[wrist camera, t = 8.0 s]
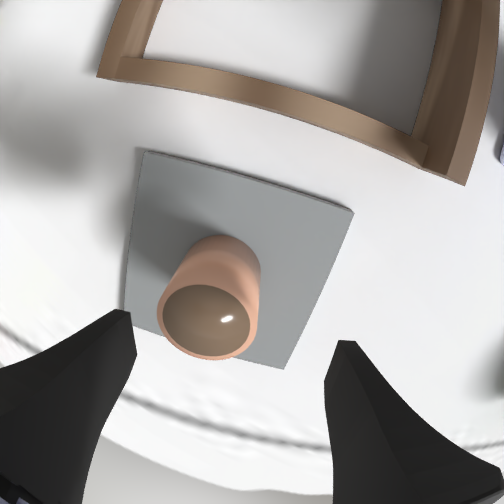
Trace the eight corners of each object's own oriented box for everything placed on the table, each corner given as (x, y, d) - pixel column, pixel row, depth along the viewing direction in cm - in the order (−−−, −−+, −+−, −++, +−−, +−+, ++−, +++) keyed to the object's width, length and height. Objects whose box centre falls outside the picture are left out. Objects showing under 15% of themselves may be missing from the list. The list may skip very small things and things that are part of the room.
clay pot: (264, 239, 17) (262, 285, 12) (257, 308, 19) (252, 365, 14) (183, 231, 17) (152, 272, 12) (184, 300, 19) (160, 353, 14)
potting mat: (350, 209, 17) (354, 213, 16) (283, 362, 21) (283, 369, 21) (149, 151, 16) (144, 152, 15) (127, 316, 21) (123, 322, 20)
